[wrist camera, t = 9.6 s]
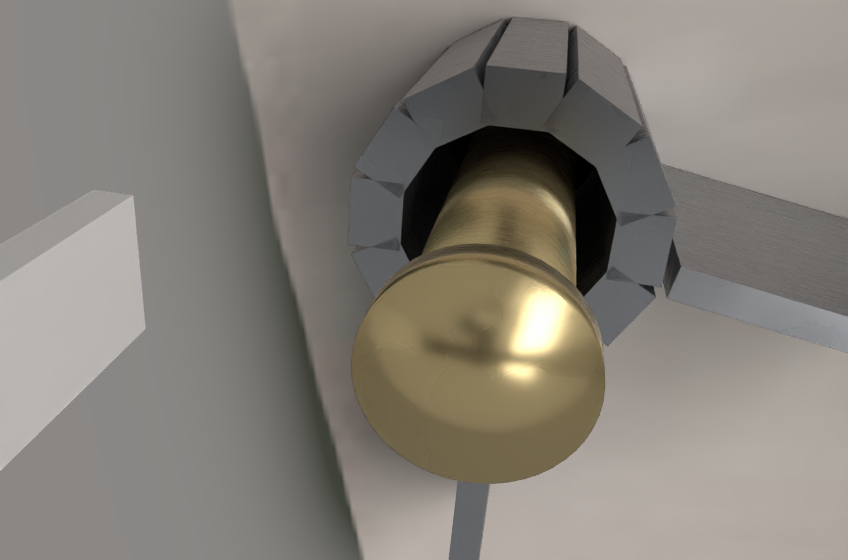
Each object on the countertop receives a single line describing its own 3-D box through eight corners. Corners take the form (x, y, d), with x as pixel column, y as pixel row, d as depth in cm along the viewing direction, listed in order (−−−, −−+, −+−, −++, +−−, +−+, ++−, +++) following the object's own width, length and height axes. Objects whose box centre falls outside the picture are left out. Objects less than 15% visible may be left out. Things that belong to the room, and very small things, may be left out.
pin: (470, 69, 24) (356, 248, 11) (598, 83, 23) (627, 285, 11) (459, 188, 25) (347, 461, 13) (577, 203, 25) (582, 502, 12)
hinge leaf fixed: (421, 8, 23) (354, 50, 16) (664, 31, 22) (706, 88, 15) (390, 465, 31) (335, 634, 23) (571, 496, 30) (571, 681, 23)
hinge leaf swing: (639, 184, 24) (667, 298, 17) (649, 160, 24) (681, 266, 17) (958, 279, 24) (1122, 436, 17) (973, 256, 24) (1146, 406, 16)
